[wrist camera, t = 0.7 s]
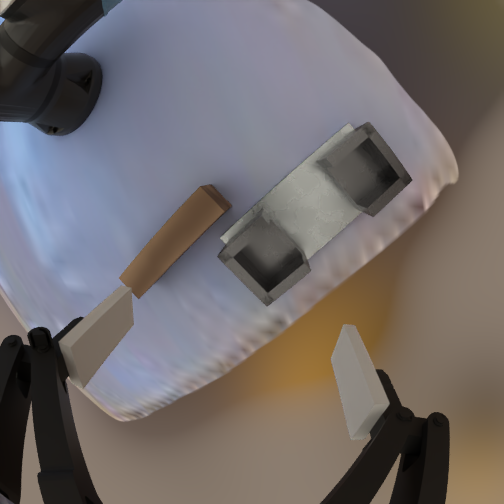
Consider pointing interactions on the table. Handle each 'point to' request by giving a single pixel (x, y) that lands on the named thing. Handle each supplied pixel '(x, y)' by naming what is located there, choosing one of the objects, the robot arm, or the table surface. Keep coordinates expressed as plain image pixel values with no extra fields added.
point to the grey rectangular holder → (312, 210)
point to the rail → (175, 238)
